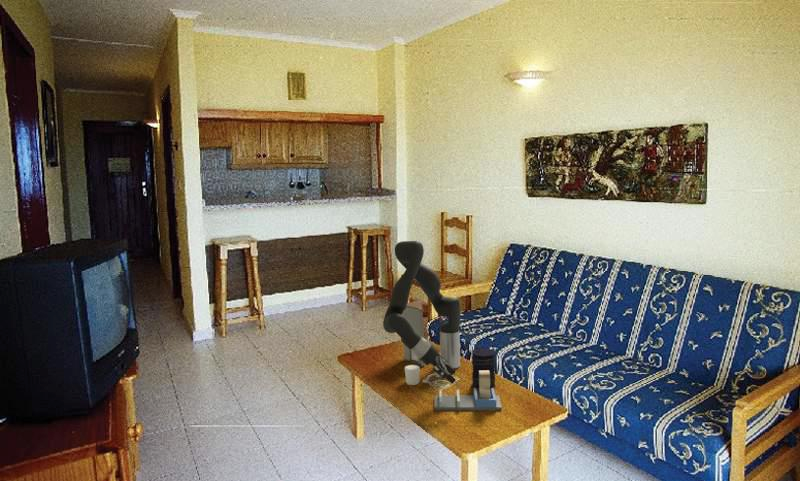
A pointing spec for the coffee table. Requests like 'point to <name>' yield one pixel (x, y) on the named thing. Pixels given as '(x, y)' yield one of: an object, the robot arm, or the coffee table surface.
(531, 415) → the coffee table surface
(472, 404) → the grey slotted base
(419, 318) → the cabinet
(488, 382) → the peg
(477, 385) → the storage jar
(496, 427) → the coffee table surface
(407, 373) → the beige cylinder
